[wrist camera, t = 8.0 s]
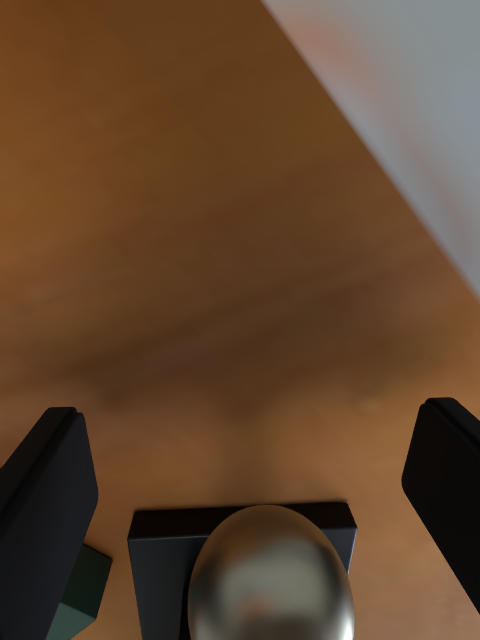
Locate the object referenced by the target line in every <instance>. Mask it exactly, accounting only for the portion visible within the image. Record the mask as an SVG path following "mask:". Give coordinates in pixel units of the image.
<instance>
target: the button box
mask: <svg viewBox="0 0 480 640" xmlns="http://www.w3.org/2000/svg"><path fill="white" fill-rule="evenodd" d="M111 565H112V560H111V559H109V558H107V557H105V556H104V555H102V554H100V553H98V552H96V551H94V550H92V549H91V548H89V547H87V546H85V545H83V544H82V545H81V548H80V550H79V553H78V556H77V558H76V561H75V564H74V566H73V569H72V571H71V574H70V577H69V579H68V582H67V585H66V587H65V590H64V592H63V595H62V598H61V600H60V603H59V606H58V608H57V611H56V613H55V616H54V619H53V621H52V624H51V627H50V629H49V632H48V634H47V637H46V640H70V639H71V638H72V637H74V636H75V635H76V634H78V633H79V632H80V631H82V630H83V629H84V628H86V627H87V626H88V625H89V624H91V623H92V622H93V621H95V620H96V618H97V614H98V611H99V607H100V604H101V600H102V596H103V593H104V589H105V586H106V582H107V579H108V575H109V572H110V568H111Z"/></svg>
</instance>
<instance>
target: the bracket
mask: <svg viewBox="0 0 480 640" xmlns="http://www.w3.org/2000/svg"><path fill="white" fill-rule="evenodd" d="M281 507H284V508H288V509H290V510H293V511H295V512H297V513H299V514H301V515H303V516H304V517H306V518H307V519H309V520H310V521H311V522H312V523H313V524H314V525H316V526H317V527H318V528H319V529H320V530H321V531H322V532H323V533H324V534H325V536H326V537H327V538H328V540H329V541H330V542H331V544H332V545H333V547H334V548H335V550H336V551H337V553H338V555H339V557H340V559H341V561H342V563H343V566H344V568H345V571H346V573H347V576H348V573H349V568H350V563H351V558H352V553H353V548H354V543H355V538H356V533H357V525H356V523H355V521H354V518H353V516H352V513H351V511H350V509H349V506H348V504H347V503H328V504H306V505H284V506H281ZM245 508H248V507H240V508H218V509H196V510H175V511H153V512H135V513H134V515H133V518H132V522H131V526H130V530H129V534H128V538H127V541H128V548H129V554H130V561H131V567H132V574H133V580H134V587H135V593H136V600H137V607H138V613H139V620H140V626H141V633H142V639H143V640H191V636H190V631H189V623H188V592H189V586H190V580H191V576H192V572H193V568H194V565H195V562H196V560H197V558H198V555H199V553H200V551H201V549H202V547H203V545H204V543H205V542H206V540H207V538H208V537H209V536H210V535H211V533H212V532H213V531H214V530H215V529H216V528H217V527H218V526H219V525H220V524H221V523H222V522H223V521H224V520H225V519H227V518H228V517H229V516H231V515H232V514H234V513H236V512H238V511H240V510H242V509H245Z"/></svg>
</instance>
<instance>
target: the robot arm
mask: <svg viewBox="0 0 480 640" xmlns="http://www.w3.org/2000/svg"><path fill="white" fill-rule="evenodd" d="M401 481H402V487H403V490H404V492H405V494H406V496H407V498H408V499H409V501H410V502H411V504H412V506H413V507H414V509H415V510H416V512H417V514H418V515H419V517H420V519H421V520H422V522H423V523H424V525H425V527H426V528H427V530H428V532H429V533H430V535H431V536H432V538H433V540H434V541H435V543H436V545H437V546H438V548H439V549H440V551H441V553H442V554H443V556H444V557H445V559H446V561H447V562H448V564H449V566H450V567H451V569H452V570H453V572H454V574H455V575H456V577H457V579H458V580H459V582H460V583H461V585H462V587H463V588H464V590H465V592H466V593H467V595H468V596H469V598H470V600H471V601H472V603H473V604H474V606H475V608H476V609H477V611H478V613H479V614H480V421H479V420H478V419H477V418H476V417H475V416H474V415H472V414H471V413H470V412H469V411H468V410H467V409H466V408H464V407H463V406H462V405H461V404H460V403H459V402H458V401H457V400H455V399H454V398H450V397H445V398H429V399H427V400H426V401H425V404H422V405H421V406H420V408H419V412H418V416H417V420H416V423H415V427H414V431H413V435H412V439H411V443H410V447H409V451H408V455H407V459H406V463H405V466H404V470H403V474H402V479H401ZM97 501H98V487H97V482H96V476H95V471H94V466H93V460H92V455H91V450H90V445H89V439H88V434H87V429H86V423H85V418H84V415H83V413H81V412H80V413H77V410H76V408H75V407H51V408H48V409H47V410H46V411H45V412H44V414H43V415H42V416H41V418H40V419H39V420H38V421H37V423H36V424H35V425H34V427H33V428H32V429H31V430H30V432H29V433H28V434H27V436H26V437H25V438H24V439H23V441H22V442H21V443H20V445H19V446H18V447H17V449H16V450H15V451H14V452H13V454H12V455H11V456H10V458H9V459H8V460H7V461H6V463H5V464H4V465H3V467H1V468H0V640H46V637H47V634H48V632H49V629H50V627H51V624H52V621H53V619H54V616H55V613H56V611H57V608H58V606H59V603H60V600H61V598H62V595H63V592H64V590H65V587H66V585H67V582H68V579H69V577H70V574H71V571H72V569H73V566H74V564H75V561H76V558H77V556H78V553H79V550H80V548H81V545H82V543H83V540H84V537H85V535H86V532H87V529H88V527H89V524H90V522H91V519H92V516H93V514H94V511H95V508H96V505H97Z"/></svg>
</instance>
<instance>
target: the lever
mask: <svg viewBox="0 0 480 640" xmlns="http://www.w3.org/2000/svg"><path fill="white" fill-rule="evenodd" d="M188 623H189V631H190V636H191V640H353V637H354V624H355V615H354V605H353V596H352V592H351V587H350V583H349V580H348V576H347V573H346V571H345V568H344V566H343V563H342V561H341V559H340V557H339V555H338V553H337V551H336V550H335V548H334V547H333V545H332V544H331V542H330V541H329V540H328V538H327V537H326V536H325V534H324V533H323V532H322V531H321V530H320V529H319V528H318V527H317V526H316V525H314V524H313V523H312V522H311V521H310V520H309V519H307V518H306V517H304V516H303V515H301V514H299V513H297V512H295V511H293V510H290V509H288V508H284V507H281V506H275V505H257V506H252V507H248V508H245V509H242V510H240V511H238V512H236V513H234V514H232V515H231V516H229V517H228V518H227V519H225V520H224V521H223V522H222V523H221V524H220V525H219V526H218V527H217V528H216V529H215V530H214V531H213V532H212V533H211V535H210V536H209V537H208V538H207V540H206V542H205V543H204V545H203V547H202V549H201V551H200V553H199V555H198V558H197V560H196V562H195V565H194V568H193V572H192V576H191V580H190V586H189V592H188Z"/></svg>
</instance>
